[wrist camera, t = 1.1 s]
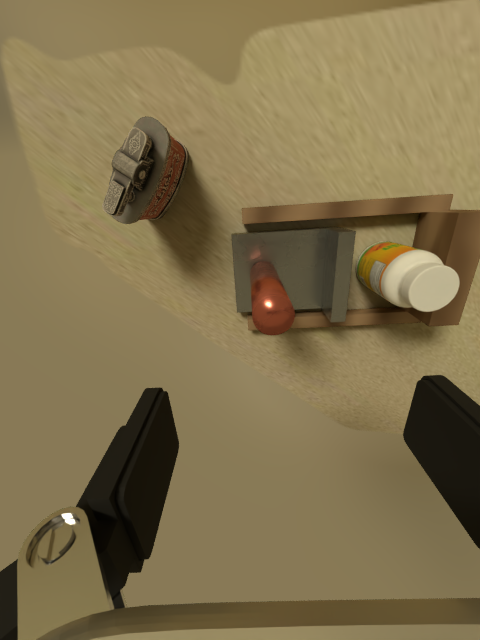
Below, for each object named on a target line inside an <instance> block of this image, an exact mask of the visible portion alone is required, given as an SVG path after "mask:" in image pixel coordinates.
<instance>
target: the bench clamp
mask: <svg viewBox="0 0 480 640" xmlns="http://www.w3.org/2000/svg"><path fill="white" fill-rule="evenodd" d="M452 198H453V194H446V195H431V196H416V197H401V198H387V199H372V200H357V201H343V202H328V203H313V204H298V205H284V206H269V207H254V208H242V221H243V224H251V223H266V222H281V221H297V220H312V219H327V218H343V217H358V216H373V215H389V214H404V213H419V218H418V223H417V228H416V233H415V237H414V242H413V248H417V249H421V250H425V251H428V252H431V253H433V254H435V255H436V256H438V257H439V258H440V259H441V261H442V263H443V264H444V265H445V266H448V267H450V268H452V269H453V270H455V272H456V273H457V274H458V277H459V282H460V283H459V289H458V292H457V294H456V295H455V297H454V298H453V299H452V300H451V301H450V303H448V304H447V305H446V306H444V307H442V308H441V309H438V310H435V311H431V312H423V311H419V310H417V309H415V308H413V307H409V308H406V307H394V308H373V309H353V310H347V311H346V319H345V322H330V321H329V319H328V318H327V316H326V315H325V314H324V312H323V311H312V312H295V319H294V322H293V324H292V326H291V327H290V328H311V327H332V326H354V325H375V324H397V323H418V322H421V321H422V322H423V323H425V324H426V325H428V326H445V325H459V322H460V318H461V315H462V312H463V309H464V306H465V303H466V300H467V296H468V293H469V290H470V287H471V284H472V281H473V278H474V274H475V271H476V268H477V265H478V262H479V259H480V210H450V206H451V202H452ZM248 330H258V329H257V328H256V327H255V325H254V323H253V319H252V314H251V315H248Z"/></svg>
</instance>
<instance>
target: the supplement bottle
mask: <svg viewBox="0 0 480 640" xmlns="http://www.w3.org/2000/svg"><path fill="white" fill-rule="evenodd" d="M356 274H357V277H358V279H359V280H360V282H361V283H362V284H364V285H365V286H366V287H368V288H369V289H371V290H372V291H374V292H375V293H377V294H378V295H380V296H381V297H383V298H384V299H386V300H387V301H389V302H390V303H392V304H394V305H396V306H399V307H406V308H409V307H413V308H415V309H417V310H419V311H423V312H431V311H435V310H438V309H441V308H442V307H444V306H446V305H447V304H448V303H450V301H451V300H452V299H453V298H454V297H455V295H456V294H457V292H458V289H459V283H460V282H459V277H458V274H457V273H456V272H455V270H453V269H452V268H450V267H448V266H445V265H444V264H443V263H442V261H441V259H440V258H439V257H438V256H436V255H435V254H433V253H431V252H428V251H425V250H421V249H417V248H413V247H409V246H405V245H401V244H397V243H393V242H387V241H383V242H377V243H375V244H372V245H371V246H369V247H368V248H366V249H365V250H364V251H363V252H362V254H361V255H360V257H359V259H358V261H357V264H356Z"/></svg>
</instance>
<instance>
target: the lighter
mask: <svg viewBox="0 0 480 640" xmlns="http://www.w3.org/2000/svg"><path fill="white" fill-rule="evenodd" d="M188 161H189V154H188V151H187V149H186V147H185V146H184V145H183V144H182V143H181V142H180V141H178V140H176V139H174V138H173V137H172V136H170V134H169V133H168V131H167V129H166V128H165V127H164V126H163V125H162V124H161V123H160V122H159V121H158V120H156V119H154V118H152V117H146V116H145V117H142V118H140V119H139V120H138V121H137V122H136V123H135V125H134V126H133V128H131V129H130V131H129V134H128V136H127V138H126V139H125V141H124V143H123V146H122V147H121V148H120V149H119V150H118V151H117V152H116V153H115V155H114V158H113V160H112V167H113V172H112V175H111V179H110V183H109V188H108V191H107V194H106V196H105V199H104V202H103V205H102V207H103V210H104V212H106V213H107V214H109V215H111V216H112V217H113V218H114V219H116V220H117V221H118V222H121V223H124V224H131V223H135V222H137V221H138V220H143V219H150V220H157V219H160V218H161V217H163V215H164V214H165V213H166V211H167V210H168V209H169V207H170V206H171V204H172V203H173V201H174V199H175V197H176V196H177V194H178V192H179V190H180V187H181V184H182V182H183V179H184V177H185V173H186V169H187V165H188Z"/></svg>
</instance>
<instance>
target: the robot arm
mask: <svg viewBox="0 0 480 640" xmlns="http://www.w3.org/2000/svg"><path fill="white" fill-rule="evenodd" d="M403 436H404V440H405V442H406V444H407V445H408V447H409V449H410V450H411V451H412V453H413V454H414V456H415V457H416V459H417V460H418V462H419V463H420V464H421V466H422V467H423V469H424V470H425V472H426V473H427V475H428V476H429V477H430V479H431V480H432V482H433V483H434V484H435V486H436V488H437V489H438V491H439V492H440V493H441V495H442V496H443V498H444V499H445V501H446V502H447V503H448V505H449V506H450V508H451V509H452V511H453V512H454V514H455V515H456V517H457V518H458V520H459V521H460V522H461V524H462V525H463V527H464V528H465V530H466V531H467V532H468V534H469V536H470V537H471V538H472V540H473V541H474V543H475V544H476V545H477V547H478V548H480V406H479V405H478V404H477V403H476V402H474V401H473V400H472V399H471V398H470V397H469V396H467V395H466V394H465V393H464V392H463V391H461V390H460V389H459V388H458V387H457V386H455V385H454V384H453V383H452V382H451V381H450V380H448V379H447V378H446V377H444V376H442V375H433V376H423V377H422V378H421V380H419V381H418V382H417V385H416V388H415V392H414V396H413V399H412V403H411V407H410V410H409V414H408V418H407V421H406V425H405V429H404V433H403ZM178 449H179V441H178V437H177V432H176V427H175V423H174V419H173V414H172V410H171V406H170V401H169V396H168V393H167V392H166V391H163V389H162V388H146V389H145V390H144V392H143V394H142V396H141V398H140V399H139V401H138V403H137V405H136V407H135V409H134V411H133V413H132V415H131V416H130V418H129V420H128V422H127V424H126V426H122V427H121V428H120V429H119V430H118V432H117V433H116V435H115V437H114V439H113V441H112V442H111V444H110V446H109V448H108V450H107V451H106V453H105V455H104V457H103V459H102V460H101V462H100V464H99V466H98V468H97V469H96V471H95V473H94V475H93V477H92V478H91V480H90V482H89V484H88V486H87V488H86V489H85V491H84V493H83V495H82V496H81V498H80V500H79V502H78V504H77V506H76V507H67V508H64V509H60V510H58V511H56V512H54V513H52V514H51V515H49V516H48V517H47V518H45V519H44V520H43V521H41V522H40V523H39V524H38V525H37V526H36V527H35V529H33V530H32V531H31V533H30V534H29V536H28V537H27V539H26V540H25V541H24V543H23V546H22V548H21V550H20V552H19V556H18V559H17V560H16V561H14V562H13V563H12V564H10V565H9V566H7V567H6V568H5V569H3V570H2V571H1V572H0V640H480V598H453V599H452V598H451V599H450V598H447V599H378V600H377V599H375V600H318V601H317V600H315V601H267V602H224V603H223V602H221V603H194V604H171V605H148V606H139V607H130V608H127V605H126V601H125V598H124V594H123V591H122V588H123V587H124V586H125V584H126V581H127V577H128V574H129V573H137V572H141V570H142V566H143V562H144V559H149V557H150V555H151V552H152V549H153V546H154V542H155V538H156V534H157V530H158V526H159V522H160V518H161V515H162V511H163V507H164V503H165V500H166V496H167V492H168V488H169V485H170V481H171V477H172V473H173V469H174V465H175V462H176V458H177V454H178Z"/></svg>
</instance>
